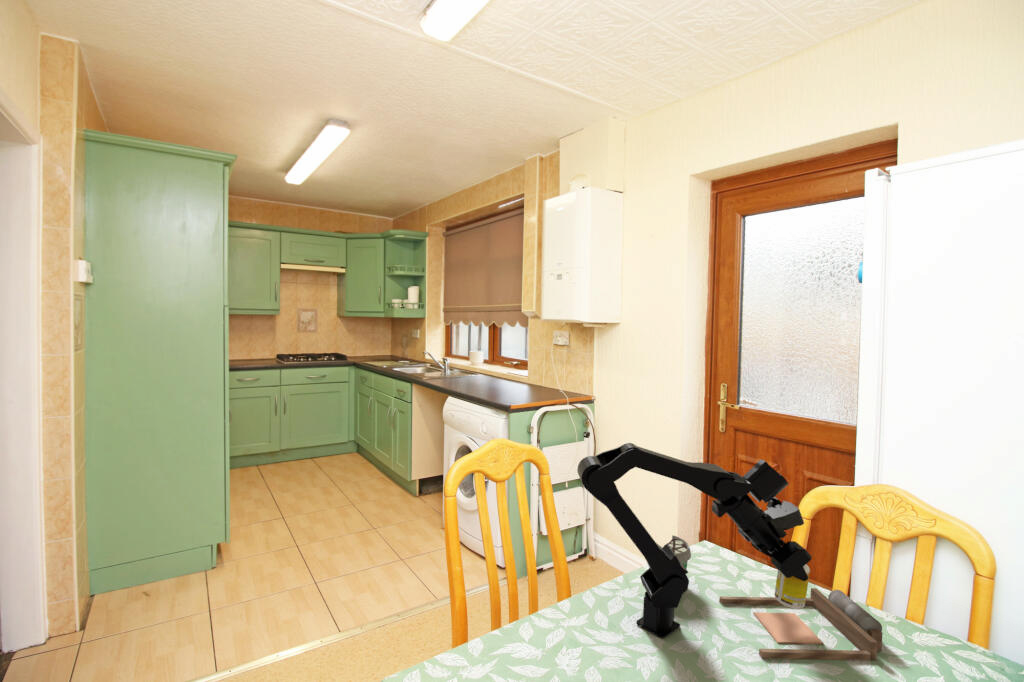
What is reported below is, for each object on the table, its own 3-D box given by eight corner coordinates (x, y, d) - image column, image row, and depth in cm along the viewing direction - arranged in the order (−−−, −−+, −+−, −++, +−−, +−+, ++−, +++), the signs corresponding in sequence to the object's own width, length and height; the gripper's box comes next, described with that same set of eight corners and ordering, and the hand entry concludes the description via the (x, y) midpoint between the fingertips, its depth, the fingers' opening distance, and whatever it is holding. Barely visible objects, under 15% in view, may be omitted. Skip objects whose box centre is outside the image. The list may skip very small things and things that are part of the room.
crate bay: (761, 658, 95) (762, 630, 95) (719, 601, 114) (720, 578, 114) (896, 660, 95) (898, 632, 95) (832, 603, 114) (833, 580, 114)
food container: (679, 604, 113) (681, 560, 112) (652, 594, 116) (654, 551, 116) (696, 582, 122) (698, 541, 122) (671, 573, 126) (673, 534, 126)
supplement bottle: (811, 609, 102) (818, 560, 102) (787, 610, 101) (795, 560, 101) (790, 594, 108) (797, 547, 107) (767, 594, 107) (774, 547, 106)
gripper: (804, 507, 94) (859, 568, 95) (755, 476, 113) (801, 527, 113) (759, 547, 94) (813, 608, 95) (718, 509, 113) (763, 560, 114)
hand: (797, 572), depth 104 cm, fingers closed on supplement bottle, 5 cm apart
